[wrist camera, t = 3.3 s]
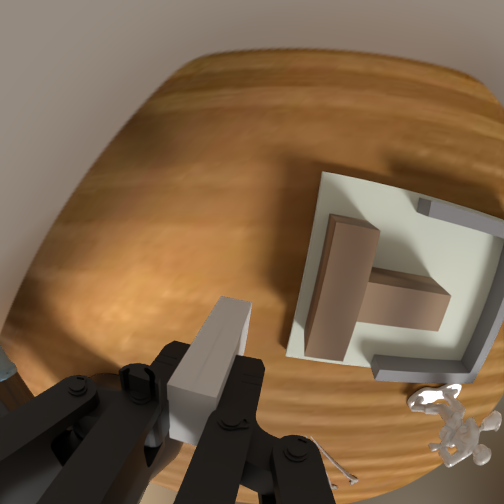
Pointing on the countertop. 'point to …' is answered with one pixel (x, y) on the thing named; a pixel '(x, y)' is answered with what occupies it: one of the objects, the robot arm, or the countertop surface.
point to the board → (419, 263)
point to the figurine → (454, 424)
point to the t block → (364, 292)
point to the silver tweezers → (352, 478)
